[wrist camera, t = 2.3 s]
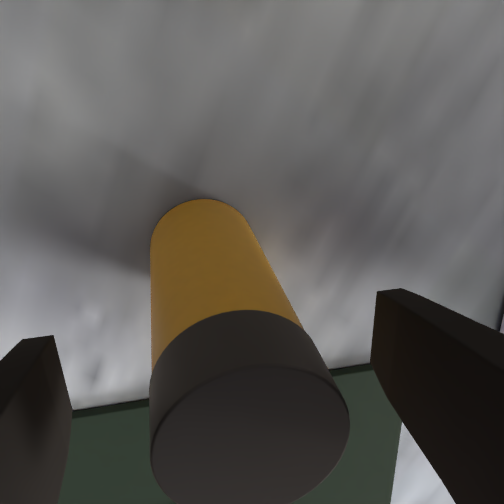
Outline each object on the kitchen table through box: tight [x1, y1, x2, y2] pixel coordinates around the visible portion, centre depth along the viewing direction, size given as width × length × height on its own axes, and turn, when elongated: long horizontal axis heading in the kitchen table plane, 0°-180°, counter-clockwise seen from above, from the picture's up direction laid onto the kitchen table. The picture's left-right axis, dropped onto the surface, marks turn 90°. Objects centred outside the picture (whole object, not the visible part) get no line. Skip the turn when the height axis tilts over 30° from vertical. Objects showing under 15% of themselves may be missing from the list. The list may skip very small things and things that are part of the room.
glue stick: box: [149, 199, 350, 504], centre depth 12 cm, size 4×4×8 cm
